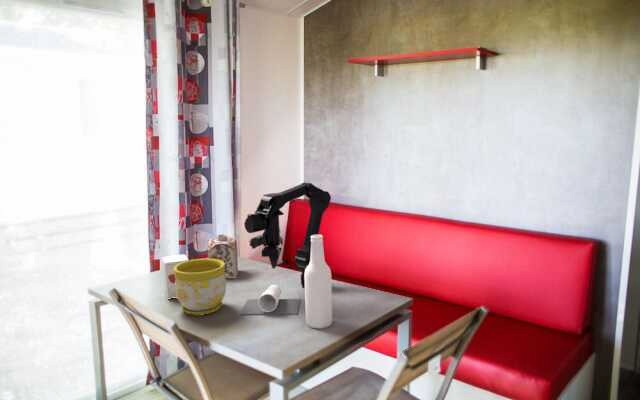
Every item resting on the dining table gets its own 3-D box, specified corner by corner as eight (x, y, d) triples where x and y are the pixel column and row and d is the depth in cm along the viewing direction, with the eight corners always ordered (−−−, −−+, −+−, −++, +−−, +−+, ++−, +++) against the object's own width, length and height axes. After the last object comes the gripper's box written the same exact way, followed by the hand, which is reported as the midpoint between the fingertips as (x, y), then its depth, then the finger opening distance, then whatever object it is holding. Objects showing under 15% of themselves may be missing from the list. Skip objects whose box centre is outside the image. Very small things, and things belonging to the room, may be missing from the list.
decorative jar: (212, 271, 223) (209, 233, 220) (238, 270, 224) (236, 231, 221) (209, 280, 211) (206, 239, 208) (236, 278, 212) (234, 238, 209)
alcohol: (335, 327, 160) (333, 237, 155) (309, 331, 158) (307, 240, 153) (327, 316, 169) (325, 231, 164) (302, 320, 166) (300, 234, 161)
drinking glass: (285, 286, 186) (279, 297, 171) (279, 302, 187) (273, 315, 172) (269, 279, 186) (261, 290, 172) (263, 296, 187) (255, 308, 172)
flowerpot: (166, 315, 174) (162, 270, 171) (195, 297, 190) (192, 256, 188) (210, 321, 167) (207, 275, 165) (236, 302, 184) (234, 260, 181)
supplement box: (167, 300, 188) (164, 262, 186) (164, 293, 196) (161, 256, 194) (191, 296, 192) (188, 259, 189) (187, 289, 200) (184, 253, 198)
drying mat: (300, 299, 185) (300, 298, 185) (297, 314, 171) (297, 313, 171) (247, 300, 186) (247, 299, 186) (240, 314, 172) (240, 313, 172)
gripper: (254, 223, 194) (256, 261, 196) (246, 234, 175) (248, 276, 178) (282, 222, 193) (284, 260, 196) (277, 233, 175) (279, 275, 178)
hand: (274, 268), depth 187 cm, fingers closed
